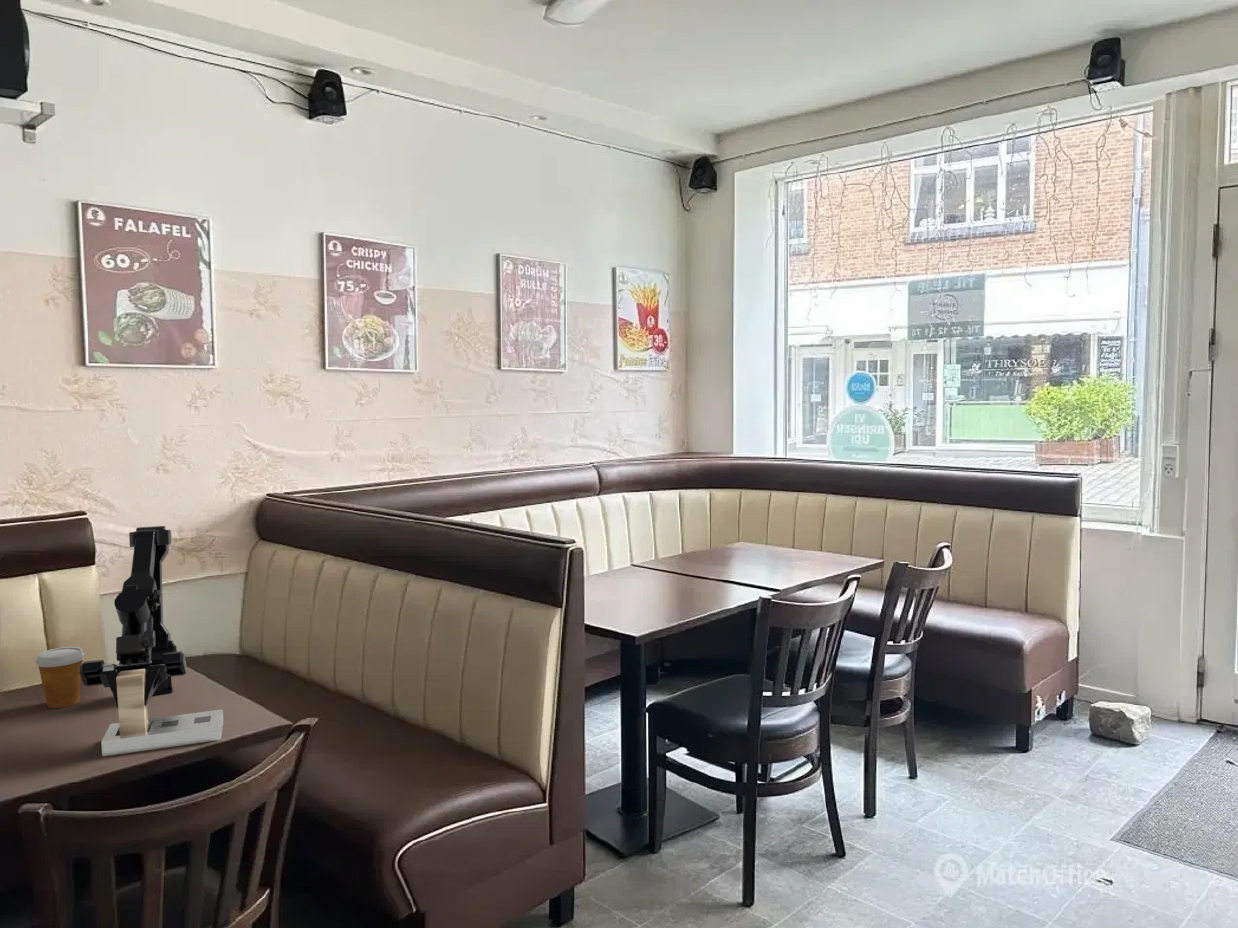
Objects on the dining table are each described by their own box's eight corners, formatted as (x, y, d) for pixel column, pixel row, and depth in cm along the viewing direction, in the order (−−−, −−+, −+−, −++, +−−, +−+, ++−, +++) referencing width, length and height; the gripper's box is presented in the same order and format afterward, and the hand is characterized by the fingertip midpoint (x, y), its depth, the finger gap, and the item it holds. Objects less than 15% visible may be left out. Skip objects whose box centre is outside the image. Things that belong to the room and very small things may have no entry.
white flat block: (223, 722, 189) (222, 708, 189) (220, 739, 180) (219, 724, 180) (111, 737, 182) (110, 723, 182) (102, 756, 172) (101, 740, 172)
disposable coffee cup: (93, 702, 203) (90, 651, 203) (45, 713, 197) (41, 660, 196) (80, 693, 210) (77, 643, 209) (33, 704, 203) (29, 652, 202)
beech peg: (124, 733, 180) (120, 671, 179) (149, 730, 182) (145, 668, 181) (120, 741, 176) (116, 677, 175) (145, 738, 178) (141, 675, 176)
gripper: (78, 622, 177) (69, 693, 168) (181, 613, 184) (178, 681, 174) (88, 650, 185) (81, 720, 176) (187, 640, 192) (185, 706, 182)
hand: (131, 706), depth 177 cm, fingers closed on beech peg, 4 cm apart
